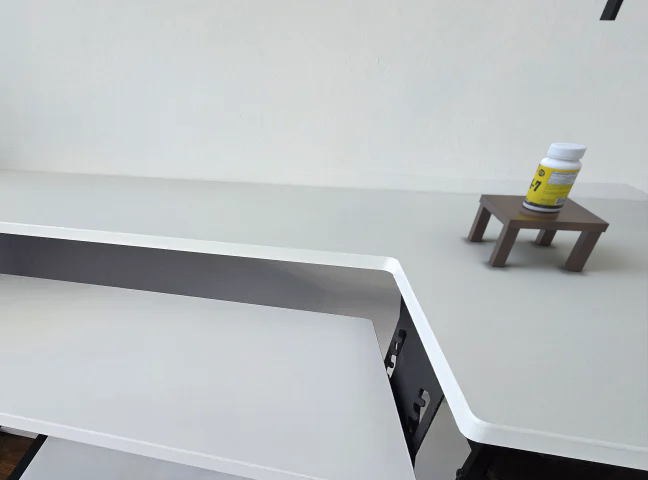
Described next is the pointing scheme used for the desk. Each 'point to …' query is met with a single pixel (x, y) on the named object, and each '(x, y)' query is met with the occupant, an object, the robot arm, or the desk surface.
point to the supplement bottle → (555, 177)
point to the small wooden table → (537, 227)
